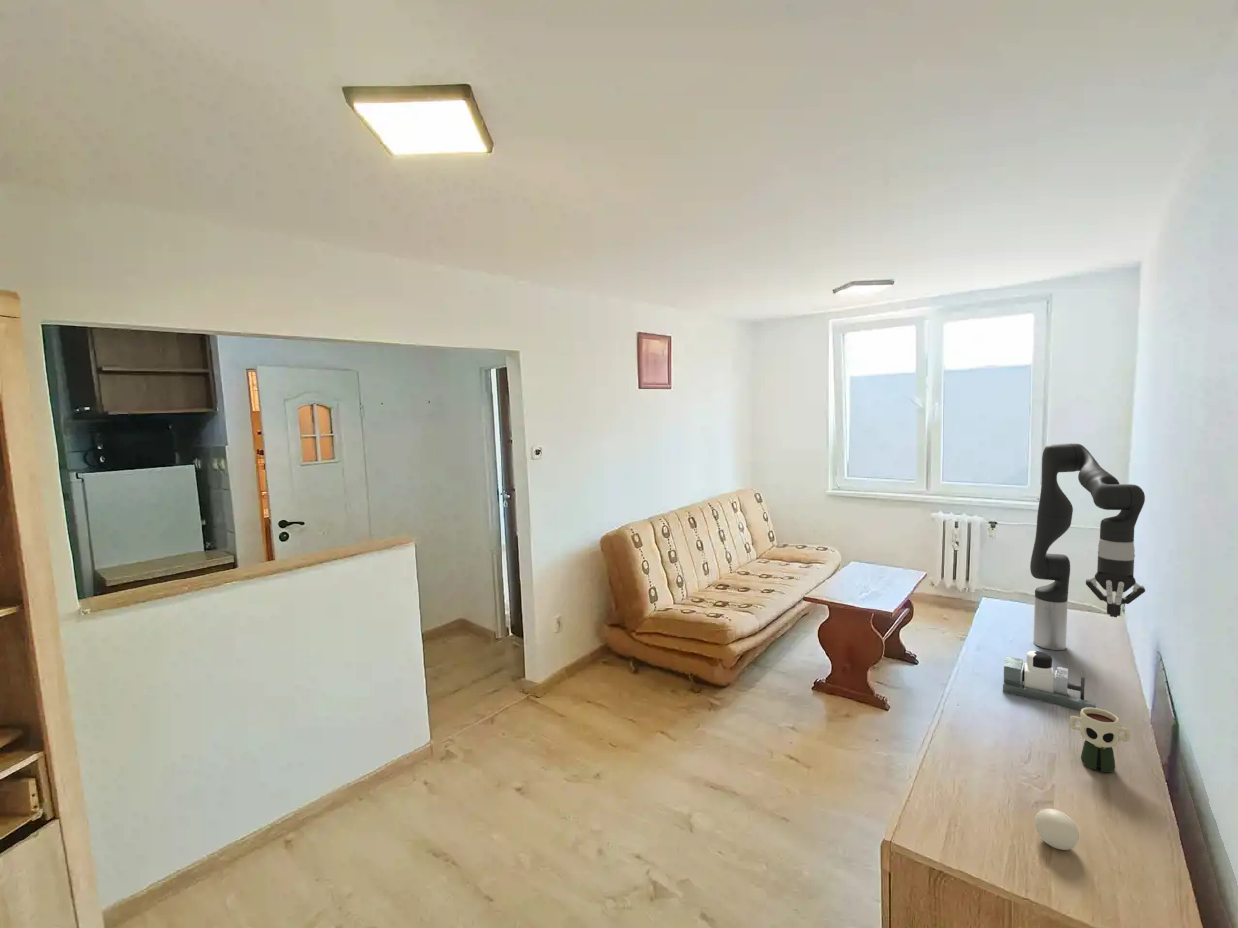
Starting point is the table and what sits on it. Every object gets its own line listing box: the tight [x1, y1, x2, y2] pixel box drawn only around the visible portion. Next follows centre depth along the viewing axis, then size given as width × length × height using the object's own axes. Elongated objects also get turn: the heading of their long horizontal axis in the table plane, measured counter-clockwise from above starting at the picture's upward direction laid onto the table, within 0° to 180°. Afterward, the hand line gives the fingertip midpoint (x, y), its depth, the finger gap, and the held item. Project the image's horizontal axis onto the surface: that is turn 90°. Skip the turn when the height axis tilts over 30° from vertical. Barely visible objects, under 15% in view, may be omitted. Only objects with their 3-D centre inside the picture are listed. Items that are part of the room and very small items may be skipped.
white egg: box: [1034, 808, 1080, 851], centre depth 112 cm, size 7×7×7 cm
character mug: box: [1069, 707, 1131, 773], centre depth 133 cm, size 11×7×13 cm, turn 52°
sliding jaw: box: [1054, 666, 1086, 700], centre depth 164 cm, size 8×7×8 cm
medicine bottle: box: [1023, 650, 1055, 693], centre depth 168 cm, size 7×7×12 cm
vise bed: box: [1002, 656, 1097, 712], centre depth 166 cm, size 10×22×8 cm, turn 50°
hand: (1113, 616), depth 156 cm, fingers closed
